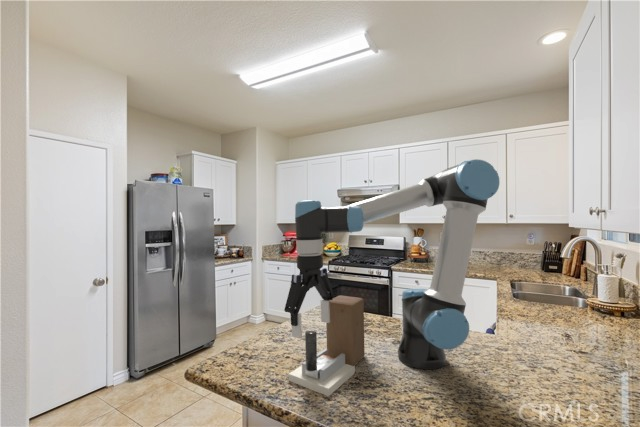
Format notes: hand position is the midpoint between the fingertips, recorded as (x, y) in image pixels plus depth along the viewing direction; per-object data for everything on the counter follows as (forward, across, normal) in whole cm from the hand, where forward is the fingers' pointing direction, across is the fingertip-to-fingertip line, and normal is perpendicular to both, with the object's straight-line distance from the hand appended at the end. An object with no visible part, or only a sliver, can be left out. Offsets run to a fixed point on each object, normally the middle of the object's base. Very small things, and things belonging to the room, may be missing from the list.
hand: (312, 329), depth 84 cm
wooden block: (+16, -19, -1) cm, 25 cm away
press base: (+16, -5, -1) cm, 17 cm away
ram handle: (+13, -3, -1) cm, 14 cm away
